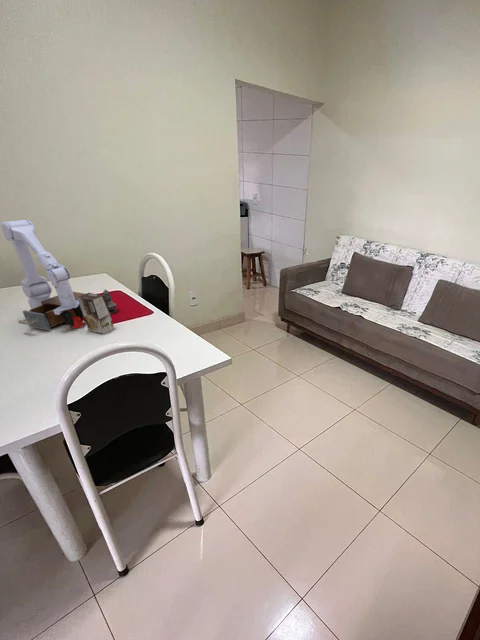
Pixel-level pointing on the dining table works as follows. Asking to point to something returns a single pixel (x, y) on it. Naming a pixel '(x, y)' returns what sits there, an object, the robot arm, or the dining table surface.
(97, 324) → the coffee box
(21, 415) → the dining table surface
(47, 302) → the cabinet
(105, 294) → the grey statue
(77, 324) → the pepper
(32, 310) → the drawer
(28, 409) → the dining table surface
